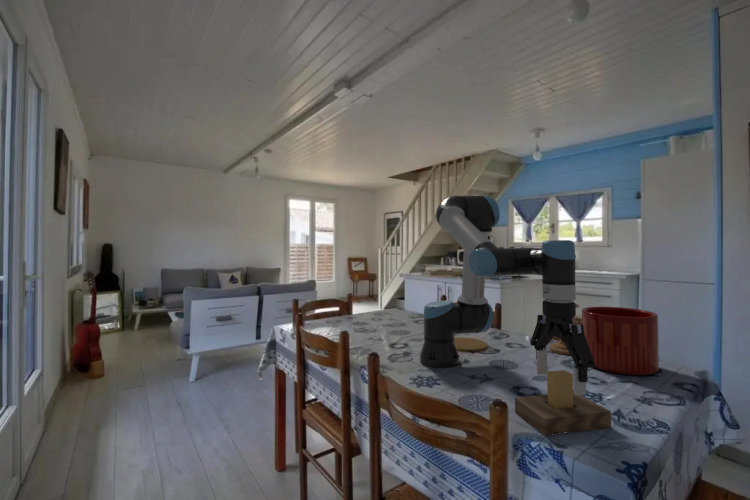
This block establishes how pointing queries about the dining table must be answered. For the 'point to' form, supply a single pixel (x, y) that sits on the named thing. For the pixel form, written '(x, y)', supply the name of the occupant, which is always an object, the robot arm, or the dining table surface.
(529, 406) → the socket block
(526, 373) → the dining table surface
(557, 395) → the peg
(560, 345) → the candle holder
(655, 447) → the dining table surface
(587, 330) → the planter
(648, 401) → the dining table surface
